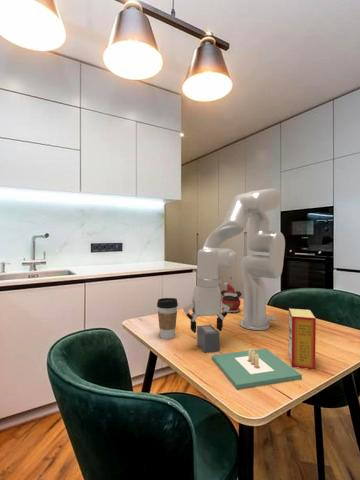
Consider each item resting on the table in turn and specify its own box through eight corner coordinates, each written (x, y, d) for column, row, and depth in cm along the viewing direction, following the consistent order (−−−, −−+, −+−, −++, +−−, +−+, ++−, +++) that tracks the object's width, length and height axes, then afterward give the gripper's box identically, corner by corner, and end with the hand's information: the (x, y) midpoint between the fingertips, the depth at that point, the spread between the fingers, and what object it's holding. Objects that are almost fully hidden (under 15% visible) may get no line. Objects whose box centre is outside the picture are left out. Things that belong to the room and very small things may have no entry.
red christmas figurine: (242, 309, 146) (242, 276, 146) (239, 314, 137) (239, 279, 137) (223, 307, 150) (223, 275, 149) (219, 312, 141) (219, 278, 141)
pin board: (266, 351, 94) (266, 337, 93) (301, 378, 76) (301, 360, 76) (211, 358, 89) (211, 343, 88) (236, 389, 71) (236, 369, 71)
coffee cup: (170, 342, 102) (170, 302, 102) (152, 337, 107) (152, 299, 107) (181, 334, 110) (181, 298, 109) (164, 331, 114) (164, 295, 114)
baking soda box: (288, 353, 92) (288, 307, 92) (309, 356, 90) (309, 308, 90) (291, 367, 83) (292, 315, 83) (315, 370, 81) (315, 317, 81)
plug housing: (210, 341, 103) (210, 324, 102) (219, 351, 94) (219, 332, 94) (197, 343, 101) (197, 325, 101) (204, 352, 93) (204, 333, 93)
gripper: (225, 281, 103) (224, 326, 103) (181, 282, 99) (180, 329, 99) (234, 284, 96) (233, 332, 96) (187, 285, 91) (186, 336, 91)
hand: (206, 330), depth 97 cm, fingers open, 9 cm apart
